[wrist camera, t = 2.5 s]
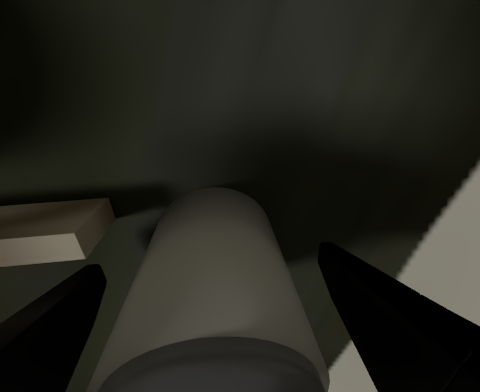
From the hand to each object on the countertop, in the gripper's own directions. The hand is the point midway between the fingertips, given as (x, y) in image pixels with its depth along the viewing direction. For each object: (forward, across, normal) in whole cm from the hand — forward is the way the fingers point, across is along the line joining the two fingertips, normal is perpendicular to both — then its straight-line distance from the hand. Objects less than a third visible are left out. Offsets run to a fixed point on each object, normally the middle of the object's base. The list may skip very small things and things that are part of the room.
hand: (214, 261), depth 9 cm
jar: (+1, 0, 0) cm, 1 cm away
